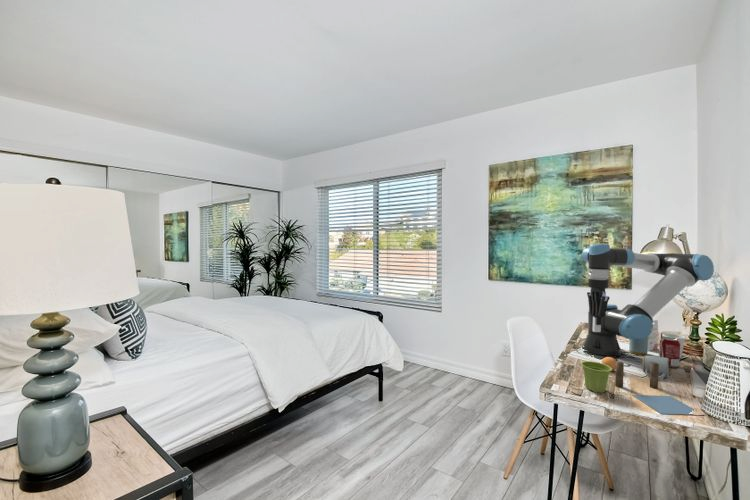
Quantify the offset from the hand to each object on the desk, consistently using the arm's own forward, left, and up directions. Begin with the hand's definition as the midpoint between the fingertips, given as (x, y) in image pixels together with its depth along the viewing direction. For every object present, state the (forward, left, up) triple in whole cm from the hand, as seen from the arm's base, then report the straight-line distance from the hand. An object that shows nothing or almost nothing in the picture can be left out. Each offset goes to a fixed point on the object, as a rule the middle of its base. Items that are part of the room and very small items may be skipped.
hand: (596, 331), depth 153 cm
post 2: (-6, +25, -14) cm, 30 cm away
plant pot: (+16, +29, -14) cm, 36 cm away
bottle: (-28, -15, -14) cm, 35 cm away
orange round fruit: (0, +9, -11) cm, 15 cm away
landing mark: (0, +39, -14) cm, 42 cm away
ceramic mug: (-16, +14, -14) cm, 25 cm away
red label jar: (-41, -11, -14) cm, 45 cm away
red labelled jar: (-30, +1, -14) cm, 33 cm away
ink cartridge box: (-38, -23, -14) cm, 47 cm away
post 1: (+6, +25, -14) cm, 30 cm away
